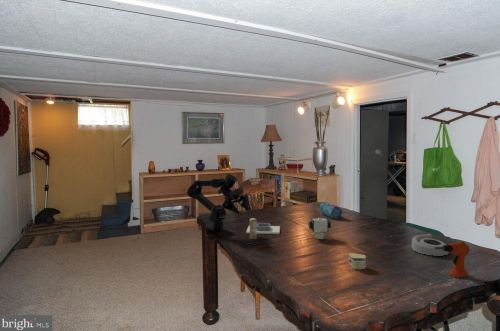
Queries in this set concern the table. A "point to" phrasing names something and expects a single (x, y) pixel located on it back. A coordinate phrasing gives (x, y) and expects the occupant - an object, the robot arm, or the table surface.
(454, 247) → the toy drill
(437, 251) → the turbocharger housing
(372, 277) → the table surface
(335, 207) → the pencil case
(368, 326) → the table surface
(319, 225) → the pneumatic valve
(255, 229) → the birch pin
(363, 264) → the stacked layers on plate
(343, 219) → the table surface
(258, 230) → the socket plate
